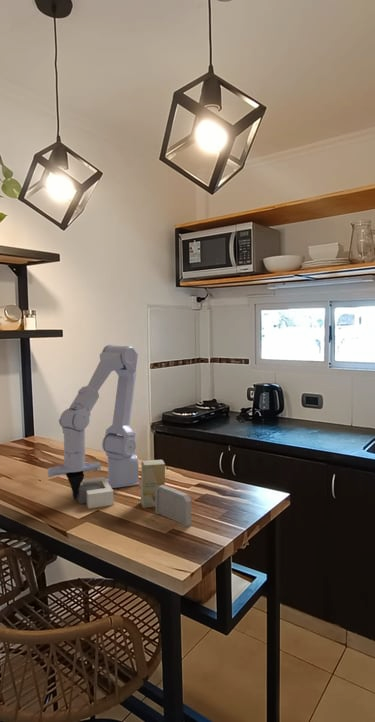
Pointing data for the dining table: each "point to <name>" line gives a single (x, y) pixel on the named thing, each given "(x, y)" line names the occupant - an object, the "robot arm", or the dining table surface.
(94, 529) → the dining table surface
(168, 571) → the dining table surface
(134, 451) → the robot arm
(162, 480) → the skincare box
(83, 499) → the plug
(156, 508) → the light switch
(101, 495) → the socket block
